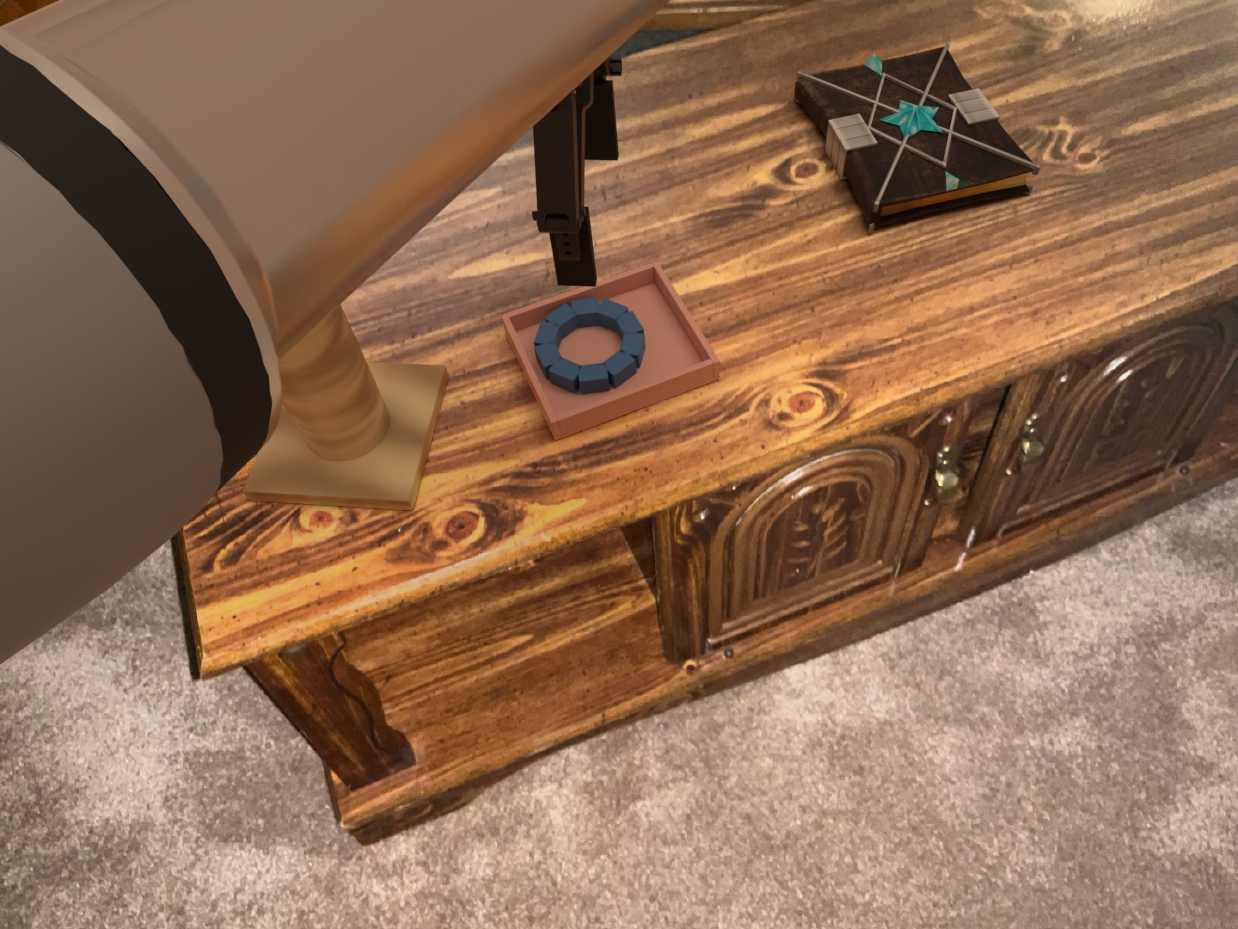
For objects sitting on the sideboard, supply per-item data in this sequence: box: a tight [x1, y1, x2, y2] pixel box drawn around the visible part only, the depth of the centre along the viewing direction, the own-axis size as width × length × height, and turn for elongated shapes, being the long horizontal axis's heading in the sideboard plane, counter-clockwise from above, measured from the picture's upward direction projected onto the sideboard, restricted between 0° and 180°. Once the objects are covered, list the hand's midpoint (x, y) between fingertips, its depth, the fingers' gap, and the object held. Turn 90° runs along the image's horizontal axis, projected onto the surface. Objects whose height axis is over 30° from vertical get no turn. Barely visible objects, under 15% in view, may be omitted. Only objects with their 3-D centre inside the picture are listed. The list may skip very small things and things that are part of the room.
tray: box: [500, 260, 721, 441], centre depth 84 cm, size 15×13×2 cm
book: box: [793, 41, 1041, 234], centre depth 95 cm, size 22×17×5 cm
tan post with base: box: [242, 303, 450, 511], centre depth 70 cm, size 14×14×30 cm
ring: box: [534, 297, 646, 394], centre depth 84 cm, size 9×10×2 cm
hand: (590, 216), depth 71 cm, fingers open, 13 cm apart
